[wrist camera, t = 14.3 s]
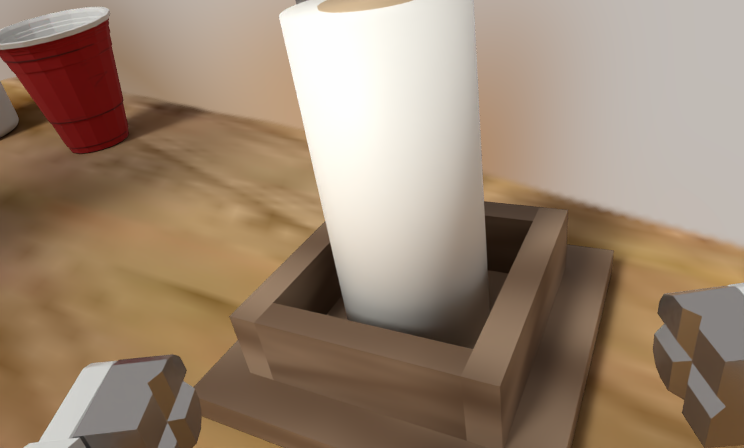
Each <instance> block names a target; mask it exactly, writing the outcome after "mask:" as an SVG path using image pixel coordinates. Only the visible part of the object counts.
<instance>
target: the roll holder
mask: <svg viewBox="0 0 744 448" xmlns="http://www.w3.org/2000/svg"><path fill="white" fill-rule="evenodd" d="M304 1H307V0H296V4H299V3H302V2H304ZM484 211H485V231H486V250H487V270H488V289H489V308H490V314H489V317H488V319H487V321H486V323H485V325H484V327H483V329H482V332H481V334H480V336H479V338H478V340H477V342H476V345H475V347H474V349H470V348H466V347H461V346H457V345H453V344H448V343H444V342H440V341H435V340H431V339H427V338H423V337H418V336H414V335H410V334H405V333H401V332H397V331H393V330H388V329H384V328H380V327H375V326H371V325H367V324H363V323H358V322H354V321H350V320H348V319H347V315H346V310H345V306H344V301H343V297H342V292H341V288H340V284H339V279H338V275H337V270H336V266H335V261H334V257H333V253H332V248H331V244H330V239H329V235H328V231H327V226H326V222H324V223H323V224H322V225H321V226H320V227H319V228H318V229H317V230H316V231H315V232H314V233H313V234H312V235H311V236H310V237H309V238H308V239H307V240H306V241H305V242H304V243H303V244H302V245H301V246H300V247H299V248H298V249H297V250H296V251H295V252H294V253H293V254H292V255H291V256H290V257H289V258H288V259H287V260H286V261H285V262H284V263H283V264H282V265H281V266H280V267H279V268H278V269H277V270H276V271H275V272H274V273H273V274H272V275H271V276H270V277H269V278H268V279H266V280H265V281H264V282H263V283H262V284H261V285H260V286H259V287H258V288H257V289H256V290H255V291H254V292H253V293H252V294H251V295H250V296H249V297H248V298H247V299H246V300H245V301H244V302H243V303H242V304H241V305H240V306H239V307H238V308H237V309H236V310H235V311H234V312H233V313H232V314H231V315H230V316H229V317H230V319H231V322H232V325H233V328H234V330H235V333H236V336H237V338H238V341H237V342H236V343H235V344H234V345H233V346H232V347H231V348H230V349H229V350H228V351H227V352H226V353H225V354H224V355H223V356H222V357H221V359H220V360H219V361H218V362H217V363H216V364H215V365H214V366H213V367H212V368H211V369H210V370H209V371H208V372H207V373H206V374H205V375H204V377H203V378H202V379H201V380H200V381H199V382H198V383H197V384H196V385H195V386H194V387H193V388H195V390H196V392H197V395H198V397H199V400H200V405H201V410H202V415H201V416H203V417H206V418H208V419H211V420H214V421H216V422H219V423H221V424H224V425H227V426H229V427H232V428H234V429H237V430H240V431H242V432H245V433H248V434H250V435H253V436H255V437H258V438H261V439H263V440H266V441H268V442H271V443H274V444H276V445H279V446H282V447H284V448H571V446H572V442H573V438H574V433H575V429H576V425H577V420H578V416H579V412H580V407H581V403H582V399H583V394H584V390H585V386H586V381H587V377H588V373H589V368H590V364H591V360H592V355H593V351H594V347H595V342H596V338H597V334H598V329H599V325H600V321H601V316H602V312H603V307H604V303H605V299H606V294H607V290H608V286H609V281H610V277H611V273H612V264H613V253H614V251H613V250H606V249H598V248H590V247H583V246H575V245H567V225H568V210H563V209H553V208H543V207H533V206H524V205H514V204H504V203H495V202H485V201H484Z"/></svg>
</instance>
